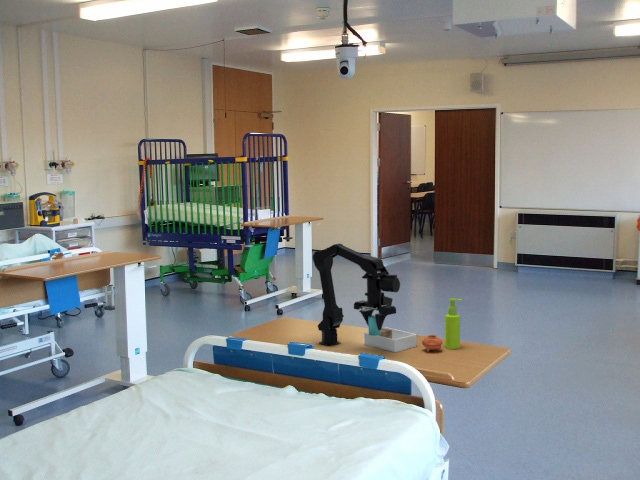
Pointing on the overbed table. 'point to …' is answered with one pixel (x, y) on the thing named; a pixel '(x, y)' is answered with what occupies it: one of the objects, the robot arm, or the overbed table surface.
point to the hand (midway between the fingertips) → (374, 329)
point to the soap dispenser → (452, 326)
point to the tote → (392, 341)
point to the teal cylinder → (373, 326)
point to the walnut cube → (386, 333)
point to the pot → (432, 342)
